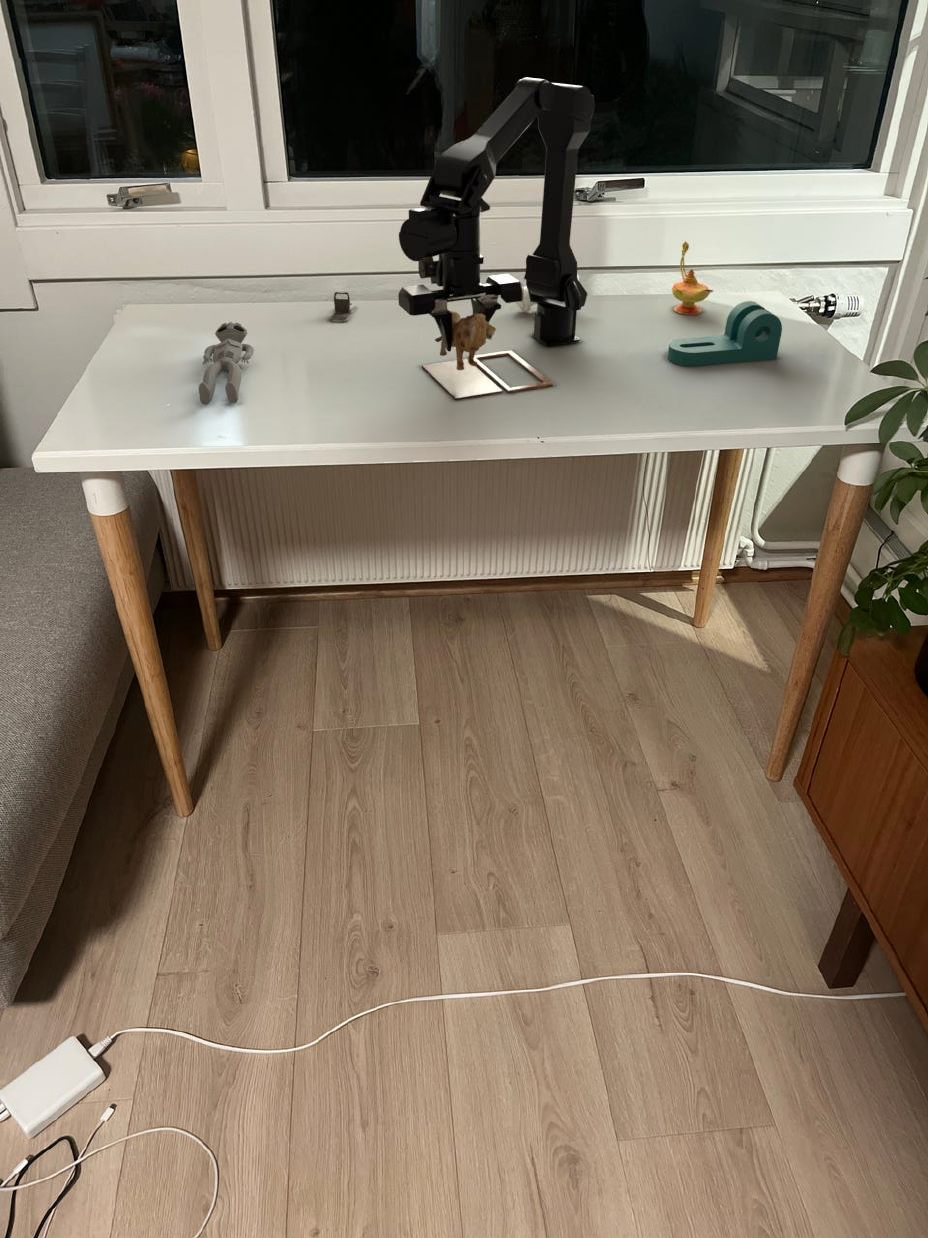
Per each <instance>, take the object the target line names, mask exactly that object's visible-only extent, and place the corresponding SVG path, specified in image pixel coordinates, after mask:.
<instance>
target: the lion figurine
mask: <svg viewBox="0 0 928 1238" xmlns="http://www.w3.org/2000/svg"><path fill="white" fill-rule="evenodd" d="M449 311H450V312H451V313H452V347H451V348H455V355H456V356H455V357H456V360H457V370H464V363H463V359H464V358H463V357H464V352H465V353H469V354H468V358H467V360H468V363H469V364H470V365H471V366H475V367H477V362H476V361H474V356H476V352H478V351H479V350H480V348H482V347H483V346H485V345H486V343H487V340H489V341H490V340H493V336H494V335H495V332H496V330H497V328H496V327H495V326H493V325H492V324H490V321H489V322H487V321H486V320H485V315H483V314H473V313H472V314H471V315H467V316H466V317H461V315H460V314H459V313H458V312H457V311H453V310H449ZM434 341H435V342H436V343H439V342H440V350H439V355H440V356H441V357H444V356H447V355H448V351H447V350H446V347H445V344H444V342H443V339H442V336H441V335H440V336H439V337H437V338H435V339H434Z"/></svg>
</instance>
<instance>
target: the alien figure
mask: <svg viewBox="0 0 928 1238" xmlns="http://www.w3.org/2000/svg"><path fill="white" fill-rule="evenodd" d="M214 335H215V337H216V338H217V339H218V340H219V343H218V344H212V345H209V346H207V347H206V348H205V350H204V353H203V357H202V358H203V361H202V366H204V365H205V364H206V365H207V363H208V364H210V362H213V363H212V364H210V365H209V366H208V367H207V368H206V369H205V371H204V374H203V376H202V377H203V378H202V382H200V383H199V385H198V395H199V396H198V397H199V401H200V403H201V404H203V405H209V404H210V403H211V402H212V400H213V398H214V393H215V390H216V384H217V378H218V377H219V375H220V374H223V373H225V374H228V377H227V381H226V384H225V387H224V388H225V389H224V392H225V396H226V398H227V401H228V402H229V403H230V404H237V402H238V401H239V393H240V387H241V381H242V370H241V368H240V366H239V365H238V363H239V362H240V361H241V363H247V364H249V360H250V359H252V356H253V355H254V351H255V350H254V347H253V346H252V345H251V344H250V343H249V344H248V343H243V342H244V340H245V338H246V336H247V335H248V330H247V329H246V328H245V327H243V326H242V323H239V322H232V321H230V322H228V323H227V322H224V323H222V324H221V325H220V326H219V327H218V328H217V329H216V330H215V332H214ZM243 352H245V353H244V354H243V356H242V353H243Z"/></svg>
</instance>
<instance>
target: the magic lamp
mask: <svg viewBox="0 0 928 1238" xmlns="http://www.w3.org/2000/svg"><path fill="white" fill-rule="evenodd" d="M681 247H682V250H681V258H680V262H679V267H680V274H681V279H682V281H679V282H676V283H674V284H673V285H672V287H671V293H672V295H673V296H674V298H675V299H677V300H678V301H680V302H682V303H681V304H680V305H678V306H675V307H674V308H673V311H674V312H675V313H678V314H682V315H688V316H689V315H698V314H701V312H702V309H701V308H699V306H697V305H696V303H699V302H702V301H704V300H705V299H707V298H708V297H709V295H710V294H711V293H713V292H714V289H709V286H707V285H706V284H704V283H701V282H698V279H697V277H696V276H695V271H694V269H693V268H690V269H689V270H688V271H686V268H685V265H686V264H685V255H686V253H687V252H688V251H689V249H690V244H689V243H688V242H687V241H686V240H684V242H683V243H682V245H681Z"/></svg>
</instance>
